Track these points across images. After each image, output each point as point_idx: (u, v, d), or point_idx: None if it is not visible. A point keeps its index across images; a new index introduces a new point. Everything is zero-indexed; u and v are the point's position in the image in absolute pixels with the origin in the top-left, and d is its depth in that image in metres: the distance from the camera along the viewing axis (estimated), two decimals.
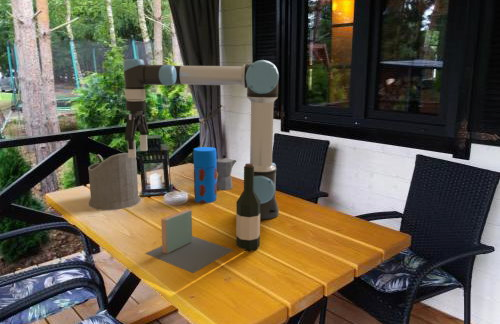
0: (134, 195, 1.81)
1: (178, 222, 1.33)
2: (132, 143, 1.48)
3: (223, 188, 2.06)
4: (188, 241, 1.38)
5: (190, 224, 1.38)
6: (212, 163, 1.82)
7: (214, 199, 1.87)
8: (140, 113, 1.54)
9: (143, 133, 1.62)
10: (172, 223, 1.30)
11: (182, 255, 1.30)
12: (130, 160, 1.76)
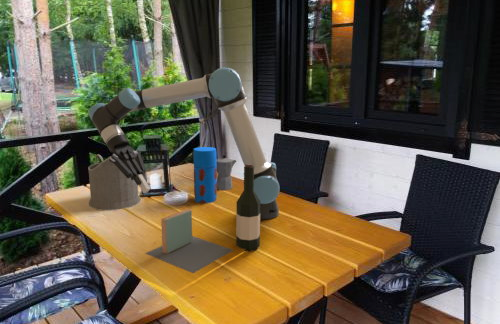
0: (134, 195, 1.81)
1: (178, 222, 1.33)
2: (137, 178, 1.40)
3: (223, 188, 2.06)
4: (188, 241, 1.38)
5: (190, 224, 1.38)
6: (212, 163, 1.82)
7: (214, 199, 1.87)
8: (127, 146, 1.46)
9: (139, 174, 1.43)
10: (172, 223, 1.30)
11: (182, 255, 1.30)
12: None
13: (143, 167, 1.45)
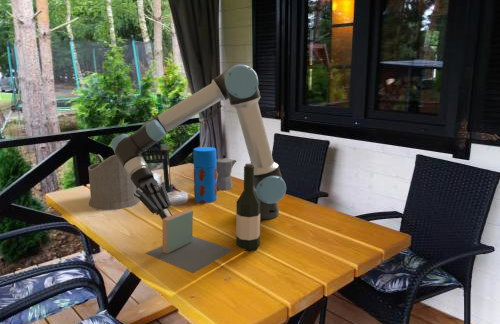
0: None
1: (179, 222, 1.32)
2: (162, 213, 1.35)
3: (223, 188, 2.06)
4: (188, 241, 1.38)
5: (191, 224, 1.38)
6: (212, 163, 1.82)
7: (214, 199, 1.87)
8: (151, 179, 1.41)
9: (164, 209, 1.38)
10: (173, 223, 1.30)
11: (182, 255, 1.30)
12: None
13: (168, 201, 1.40)
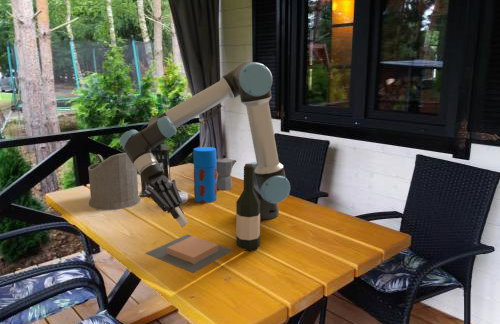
0: (134, 195, 1.81)
1: None
2: (174, 211, 1.31)
3: (223, 188, 2.06)
4: None
5: None
6: (212, 163, 1.82)
7: (214, 199, 1.87)
8: (162, 176, 1.37)
9: (175, 207, 1.34)
10: None
11: None
12: (130, 160, 1.76)
13: (179, 198, 1.35)
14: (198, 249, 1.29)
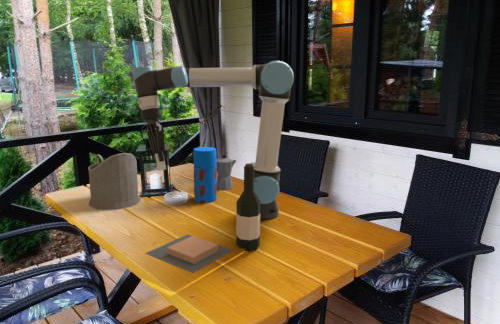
0: (134, 195, 1.81)
1: None
2: (162, 155, 1.48)
3: (223, 188, 2.06)
4: None
5: None
6: (212, 163, 1.82)
7: (214, 199, 1.87)
8: None
9: None
10: None
11: None
12: (130, 160, 1.76)
13: None
14: (198, 249, 1.29)
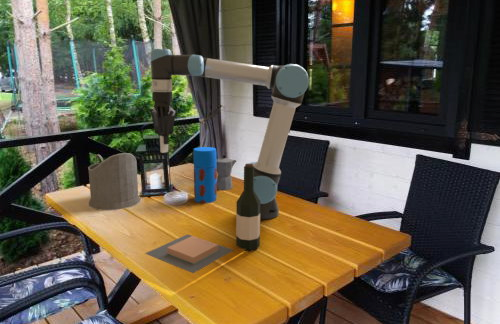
0: (134, 195, 1.81)
1: None
2: None
3: (223, 188, 2.06)
4: None
5: None
6: (212, 163, 1.82)
7: (214, 199, 1.87)
8: None
9: (162, 133, 1.53)
10: None
11: None
12: (130, 160, 1.76)
13: None
14: (198, 249, 1.29)
